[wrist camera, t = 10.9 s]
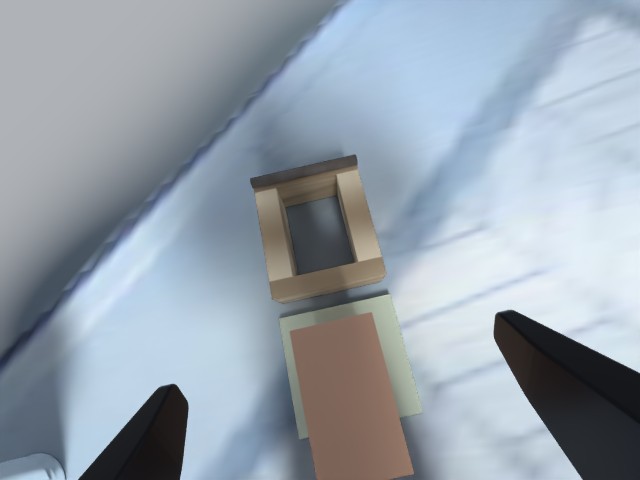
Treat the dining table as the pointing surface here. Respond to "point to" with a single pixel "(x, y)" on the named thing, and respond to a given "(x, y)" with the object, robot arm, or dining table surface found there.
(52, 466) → the cup with straw
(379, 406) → the pinkish tan rectangular block
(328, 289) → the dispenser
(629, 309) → the dining table surface
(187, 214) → the dining table surface
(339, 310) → the pad
